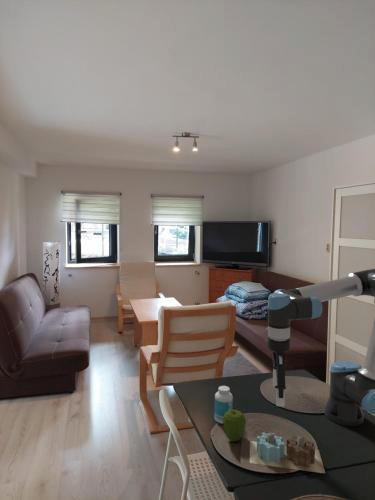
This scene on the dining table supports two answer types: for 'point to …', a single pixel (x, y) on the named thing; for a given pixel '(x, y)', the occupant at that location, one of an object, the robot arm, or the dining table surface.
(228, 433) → the apple
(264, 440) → the gear
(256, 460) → the gear board
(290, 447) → the gear
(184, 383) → the dining table surface
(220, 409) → the pill bottle
